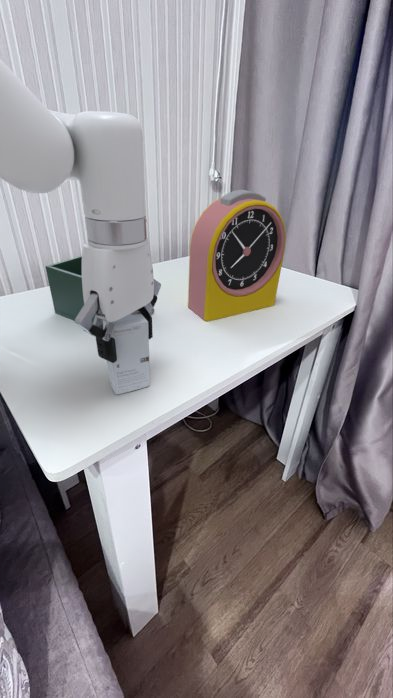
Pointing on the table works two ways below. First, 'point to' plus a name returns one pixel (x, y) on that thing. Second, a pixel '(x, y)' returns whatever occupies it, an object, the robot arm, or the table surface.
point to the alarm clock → (235, 256)
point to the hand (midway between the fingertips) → (126, 346)
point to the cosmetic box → (130, 354)
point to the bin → (67, 287)
